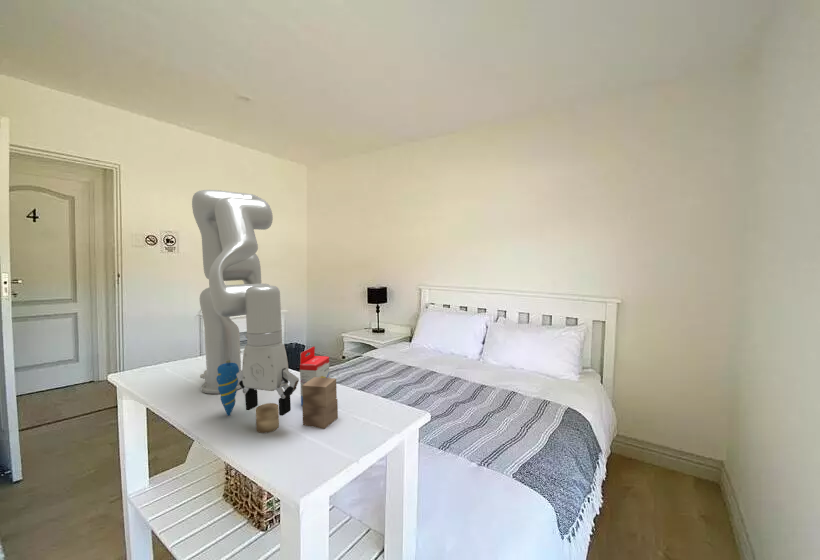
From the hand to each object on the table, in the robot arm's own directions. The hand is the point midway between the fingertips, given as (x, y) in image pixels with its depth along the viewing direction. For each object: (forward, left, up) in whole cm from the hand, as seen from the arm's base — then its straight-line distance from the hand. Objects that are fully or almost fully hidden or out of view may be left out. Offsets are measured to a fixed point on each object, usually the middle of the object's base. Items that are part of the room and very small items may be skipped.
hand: (268, 410), depth 84 cm
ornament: (-15, +2, -5) cm, 15 cm away
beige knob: (-1, 0, -4) cm, 4 cm away
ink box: (+1, +17, -5) cm, 18 cm away
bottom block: (+9, +7, -4) cm, 13 cm away
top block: (+9, +7, +1) cm, 12 cm away
